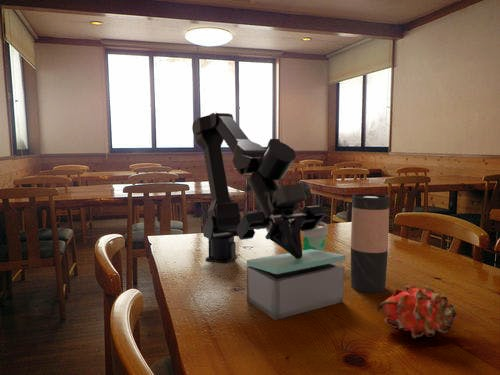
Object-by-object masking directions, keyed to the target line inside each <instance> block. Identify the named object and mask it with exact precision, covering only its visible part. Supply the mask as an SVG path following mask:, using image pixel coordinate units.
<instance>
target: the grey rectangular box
mask: <svg viewBox="0 0 500 375" xmlns="http://www.w3.org/2000/svg"><path fill="white" fill-rule="evenodd" d="M344 269H345V267H344V266H342V265H339V264H338V263H330V264H325V265H320V266H315V267H310V268H305V269H300V270H295V271H290V272H285V273H280V274H274V273H271V272H268V271H264V270H261V269H258V268H254V267H251V266H248V265H246V301H247V302H248V303H250V304H251V305H253V306H254V307H255V308H257V309H259V310H260V311H261V312H262V313H263V314H266V315H267V316H268V317H269V318H271V319H272V320H274V321H277V320H281V319H284V318H288V317H292V316H297V315H300V314H302V313H306V312H307V313H308V312H310V311H314V310H318V309H321V308H325V307H328V306H333V305H336V304H340V303H343V302H344V301H343V300H344V276H345V274H344V273H345V271H344Z"/></svg>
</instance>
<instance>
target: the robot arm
mask: <svg viewBox="0 0 500 375" xmlns="http://www.w3.org/2000/svg"><path fill="white" fill-rule="evenodd" d="M191 127H192V128H191V129H192V134H193V135H194V138H195V142H196V144H197V145H198V146H199V147H200V148H201V150H202V151H203V155H204V161H205V169H206V173H207V180H208V186H209V192H210V200H211V203H210V205H209V207H208V210H207V219H206V221H205V223H204V225H203V227H202V235H203V237H204V238H206V239H208V240H207V241H208V256H207V257H205V261H208V262H209V261H211V262H217V263H223V264H227V263H229V262H230V261H232V260H234V259H236V258H237V257H238V255H237V252H236V250H237V246H236V245H237V244H236V242H235V237H238V238H239V240H240V241H242V240H244V241H245V240H250V239H253V238H254V236H255V234H256V231H255V230H261V229H262V230H263V229H265V230H266V232H267V233H266V234H265V236H264V237H265V239H266V240H270V241H272V242H273V243H274V244H276V245H278V247H280V248H282V249H284V250H285V251H286V252H287V253H290V254H291V255H293V256H294V257H295V258H296V259H299V258H301V257H302V251H303V248H302V246H303V245H302V240H301V239H302V237H301V236H302V235H301V232H303V231H308V230H312V229H314V228H315V227H316V226H317V225H318V224H319V222H322V220H324V217H326V215H327V214H326V212H325V210H324V208H323V207H322V205H308V206H304V207H303V209H302V210H301V211H300V213H294V211H297V209H299V205H298V204H299V203H301V202H303V201H304V202H305V201H306V200H307V198H310V197H311V194H312V191H311V188H310V186H309V185H308V183H307V182H306V181H299V182H298V183H294V184H284V185H282V186H280V185H279V183H278V181H279V180H281V179H283V178H284V177H285V175H286V174H287V172H288V170H289V169H290V168H291V165H292V164H293V162H294V160H296V151H295V150H294V149H293V148H292V147H290V146H289V145H288V144H286V143H284V142H281V140H280V139H279V138H270V139H269V141H268V143H267V145H266V148H264V147H263V146H262V145H261V144H258V143H256V142H254V141H252V140H251V139H249V137H248V135H246V133H245V132H244V131H243V129H242V128H241V127H240V126H239V124H237V122H236V121H235V119H234V115H233V114H232V113H230V112H228V111H227V112H223V111H215V112H212V113H210V114H208V115H204V116H200V117H199V116H198V117H197V118H196V120H194V121H193V122H192V126H191ZM223 143H225V144H226V145H227V146H228V148H229V149H230V151H231V152H232V154H233V156H232V163H233V165H234V168H235V170H236V171H237V172H238V174H240V175H250V176H249V178H248V179H247V184H246V185H245V191H246V192H252V193H253V196H254V198H255V199H256V201H257V205H256V206H255V208H256V210H257V211H250V212H244V214H243V216H241V213H240V209H239V208H240V206H239V203H238V202H237V201H235V202H234V201H233V200H232V199H231V197H230V192H229V185H228V180H227V179H228V178H227V175H226V174H227V173H226V168H225V163H224V157H223V152H222V145H223Z"/></svg>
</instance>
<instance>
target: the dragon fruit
mask: <svg viewBox="0 0 500 375" xmlns="http://www.w3.org/2000/svg"><path fill="white" fill-rule="evenodd" d="M423 288H425V289H423ZM423 288H422V287H416V286H415V285H411V284H410V285H405V287H404V288H401V289H399V288H398V289H395V291H394V293H393V294H392V295H390V297H388V298H386V300H384V301H382V302H380V304H379V305H378V306H377V307H376V312H379V311H381V312H382V313H383V314H384V315H386V317H384V322H385V323H386V324H387V325H389V326H390V327H391V328H393V329H397V328H398V330H401V331H404V332H411V337H412V338H413V339H417V338H420V337H423V336H424V335H425V336H426V337H427V338H428V337H429V338H430V337H434V335H436V332H437V331H438V332H439V333H442V334H443V333H444V334H446V333H449V330H450V329H451V328H452V326H453V323H454V320H455V318H456V316H457V315H458V313H457V311H455V307H454V305H453V304H452V303H451V302H450V301H449V300H448V297H446V296H445V295H442V294H440V293H436V291H435V290H434V289H432V288H431V287H430V286H428V285H423ZM387 315H388V316H387Z"/></svg>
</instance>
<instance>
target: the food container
mask: <svg viewBox="0 0 500 375" xmlns="http://www.w3.org/2000/svg"><path fill="white" fill-rule="evenodd" d="M302 232H303V234H302V235H303V240H302V241H303V243H302V244H303V245H302V246H303V248H302V251H303V250H309V249H313V250H319V251H324V252H326V251H325V249H326V240H327V239H326V237H327V235H329V227H328V226H327V223H325V222H323V221H320V222H319V224H318V225H317V226H316V227H315V228H314V229H312V230H308V231H302Z"/></svg>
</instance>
